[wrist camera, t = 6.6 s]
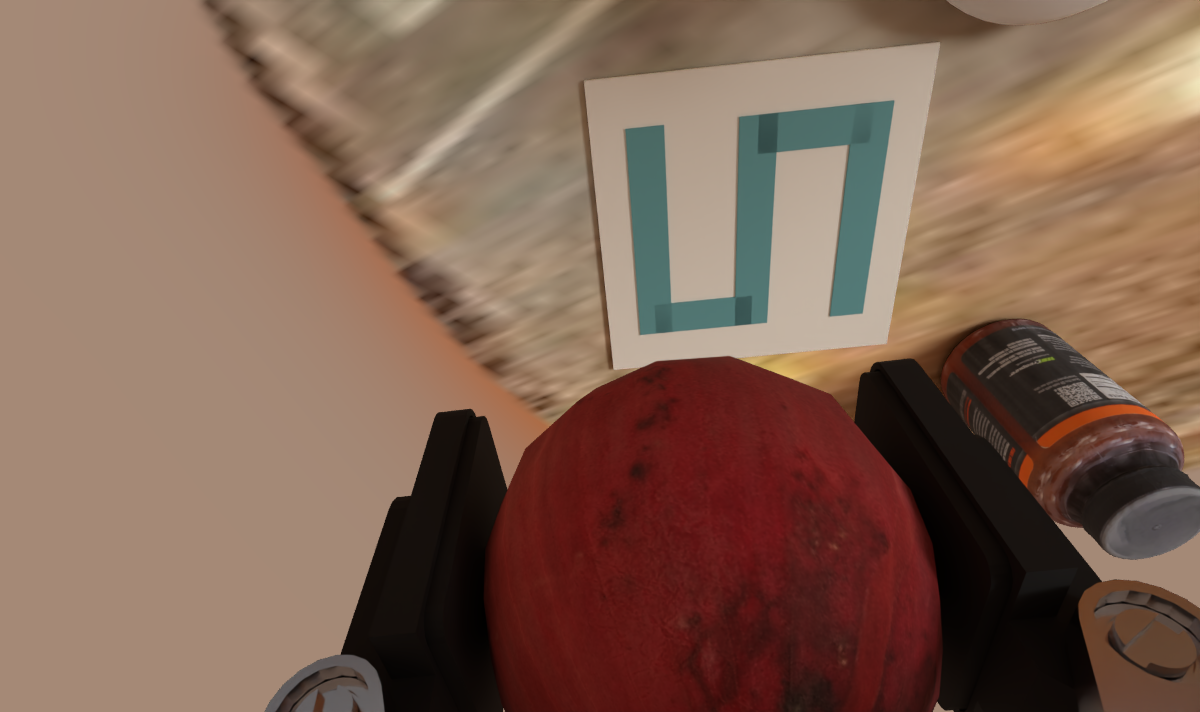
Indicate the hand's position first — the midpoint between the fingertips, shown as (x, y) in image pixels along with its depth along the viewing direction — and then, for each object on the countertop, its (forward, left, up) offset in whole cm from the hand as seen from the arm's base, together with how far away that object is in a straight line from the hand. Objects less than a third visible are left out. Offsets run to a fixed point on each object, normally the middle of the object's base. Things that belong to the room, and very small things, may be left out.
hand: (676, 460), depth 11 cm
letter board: (+4, +6, -20) cm, 21 cm away
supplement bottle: (+13, +19, -20) cm, 30 cm away
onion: (0, 0, -2) cm, 2 cm away
